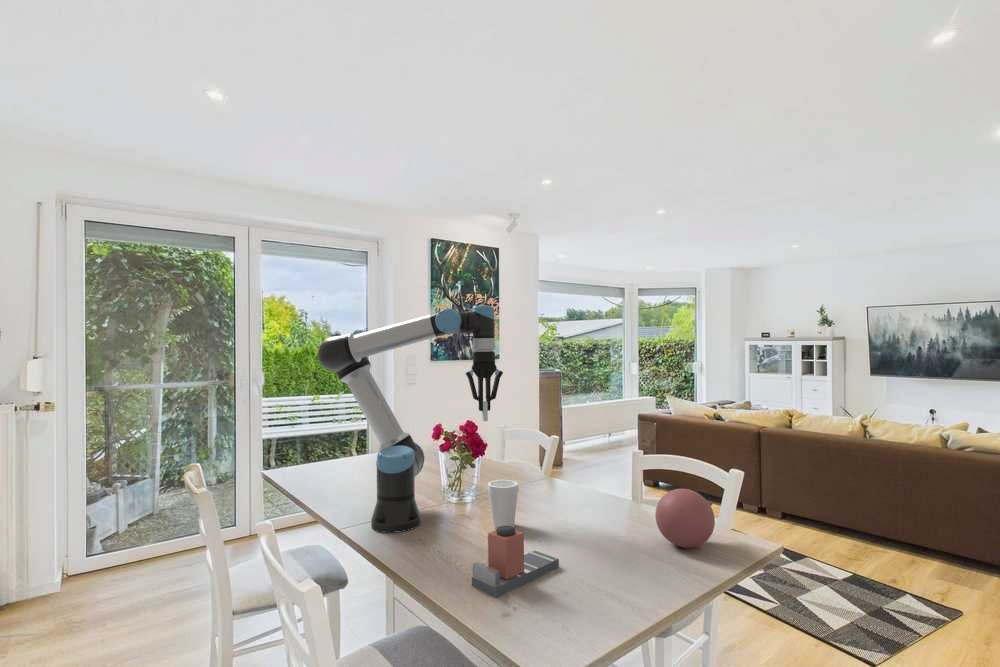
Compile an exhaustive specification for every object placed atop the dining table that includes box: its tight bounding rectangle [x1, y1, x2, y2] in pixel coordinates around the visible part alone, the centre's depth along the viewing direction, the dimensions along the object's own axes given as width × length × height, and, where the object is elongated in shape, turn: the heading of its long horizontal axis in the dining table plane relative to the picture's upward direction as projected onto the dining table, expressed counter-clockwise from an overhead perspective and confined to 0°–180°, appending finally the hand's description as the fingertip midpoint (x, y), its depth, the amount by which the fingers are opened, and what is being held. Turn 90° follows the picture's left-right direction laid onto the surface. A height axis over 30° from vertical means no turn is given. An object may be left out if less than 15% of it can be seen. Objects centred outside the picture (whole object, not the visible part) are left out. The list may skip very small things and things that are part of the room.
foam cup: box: [487, 479, 519, 529], centre depth 161 cm, size 10×9×13 cm
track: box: [471, 550, 560, 598], centre depth 126 cm, size 22×8×5 cm, turn 135°
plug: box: [487, 526, 525, 580], centre depth 123 cm, size 6×6×10 cm
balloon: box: [655, 488, 716, 549], centre depth 145 cm, size 15×20×15 cm
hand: (484, 420), depth 177 cm, fingers closed
